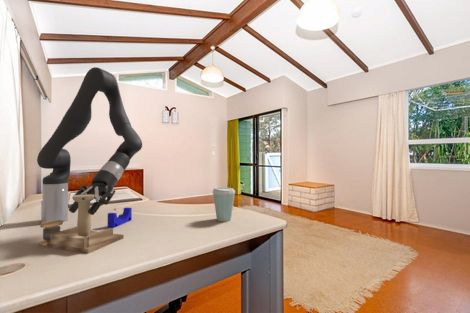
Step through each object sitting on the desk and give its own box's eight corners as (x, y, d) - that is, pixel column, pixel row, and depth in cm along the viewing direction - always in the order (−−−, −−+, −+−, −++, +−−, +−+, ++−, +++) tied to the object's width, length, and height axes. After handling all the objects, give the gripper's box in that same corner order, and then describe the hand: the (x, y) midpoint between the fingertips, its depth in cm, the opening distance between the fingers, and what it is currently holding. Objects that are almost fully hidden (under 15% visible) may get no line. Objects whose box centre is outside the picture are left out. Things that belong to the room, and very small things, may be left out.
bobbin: (35, 244, 78) (35, 223, 78) (54, 238, 83) (54, 219, 83) (48, 246, 76) (48, 225, 76) (66, 240, 82) (66, 220, 82)
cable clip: (122, 220, 109) (122, 207, 109) (131, 220, 108) (131, 207, 108) (104, 227, 97) (104, 213, 97) (114, 228, 96) (114, 213, 96)
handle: (74, 238, 80) (74, 195, 80) (95, 235, 83) (95, 193, 83) (71, 243, 76) (71, 197, 76) (94, 240, 79) (94, 195, 79)
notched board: (46, 246, 76) (46, 233, 76) (85, 233, 89) (85, 222, 90) (88, 253, 71) (88, 239, 71) (123, 238, 84) (123, 226, 84)
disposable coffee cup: (235, 216, 114) (234, 186, 114) (235, 223, 103) (235, 189, 103) (213, 217, 114) (213, 186, 114) (211, 223, 103) (211, 189, 103)
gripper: (88, 168, 88) (56, 204, 78) (118, 169, 84) (89, 207, 73) (100, 181, 94) (72, 217, 83) (129, 182, 89) (103, 220, 78)
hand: (80, 212), depth 78 cm, fingers open, 8 cm apart
